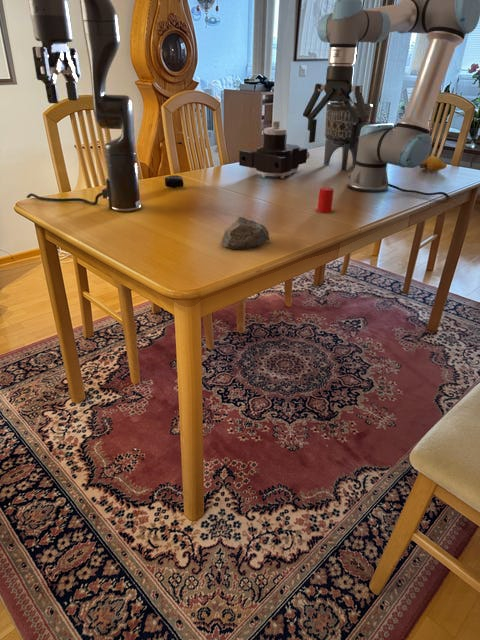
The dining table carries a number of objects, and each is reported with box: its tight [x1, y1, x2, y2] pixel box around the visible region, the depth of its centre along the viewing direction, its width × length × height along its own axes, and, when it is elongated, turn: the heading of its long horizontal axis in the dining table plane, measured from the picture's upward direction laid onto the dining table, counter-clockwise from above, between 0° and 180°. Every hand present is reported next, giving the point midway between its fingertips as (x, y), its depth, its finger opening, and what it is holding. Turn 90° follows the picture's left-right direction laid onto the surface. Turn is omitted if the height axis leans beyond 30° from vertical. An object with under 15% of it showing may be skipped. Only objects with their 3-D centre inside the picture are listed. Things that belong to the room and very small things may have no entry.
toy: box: [418, 156, 448, 172], centre depth 207 cm, size 11×6×15 cm
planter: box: [323, 101, 374, 172], centre depth 204 cm, size 20×20×26 cm
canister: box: [316, 186, 335, 214], centre depth 148 cm, size 4×4×7 cm
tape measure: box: [164, 175, 184, 189], centre depth 171 cm, size 7×7×4 cm
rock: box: [221, 216, 270, 250], centre depth 119 cm, size 13×9×6 cm, turn 131°
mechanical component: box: [238, 120, 311, 179], centre depth 191 cm, size 22×21×30 cm
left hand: (64, 101), depth 101 cm, fingers open, 8 cm apart
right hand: (331, 144), depth 139 cm, fingers open, 13 cm apart
